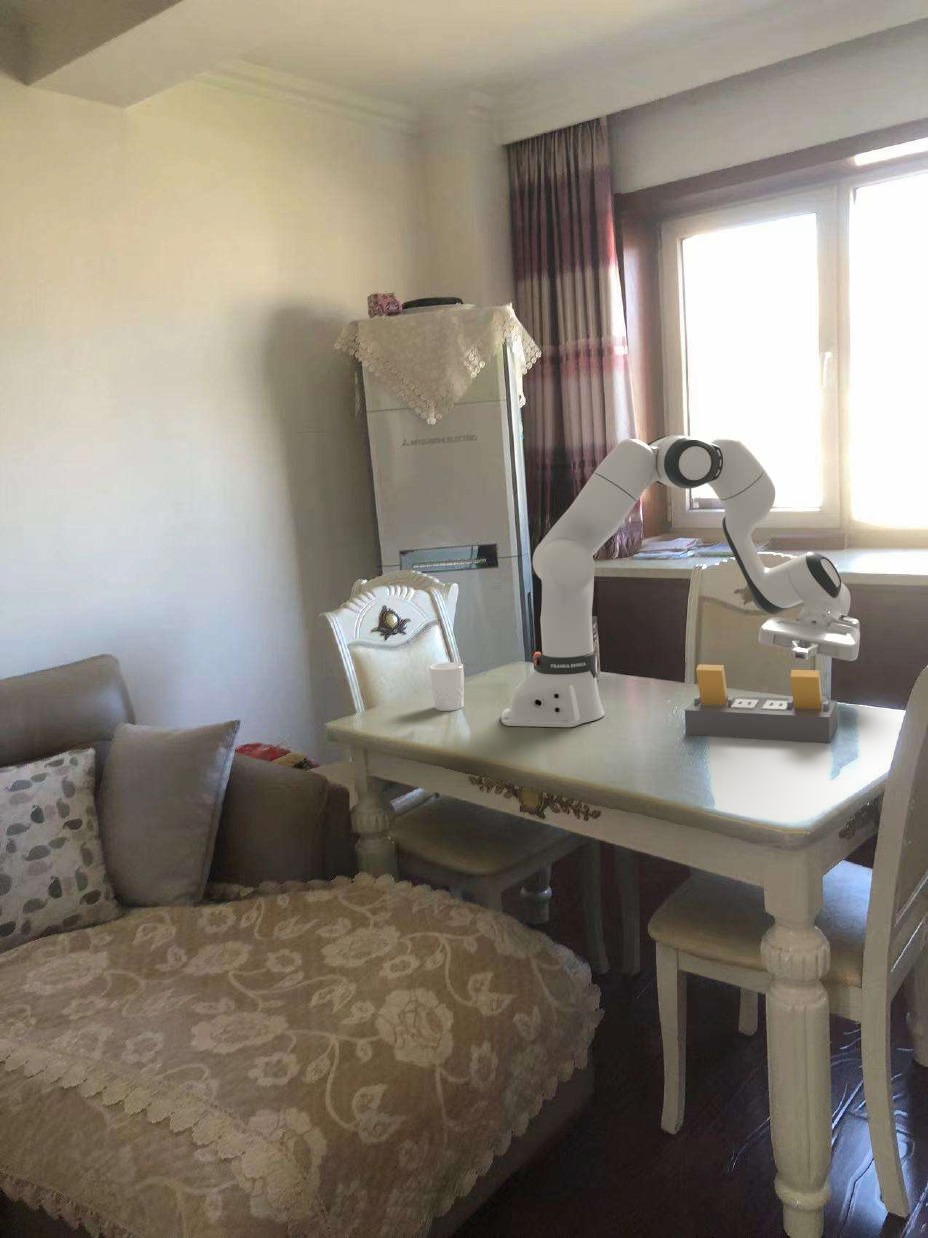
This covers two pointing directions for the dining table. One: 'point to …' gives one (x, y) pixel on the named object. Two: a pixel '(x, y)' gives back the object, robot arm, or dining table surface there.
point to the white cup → (447, 685)
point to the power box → (762, 719)
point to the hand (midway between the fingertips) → (799, 655)
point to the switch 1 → (712, 684)
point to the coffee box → (596, 644)
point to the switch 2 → (806, 689)
